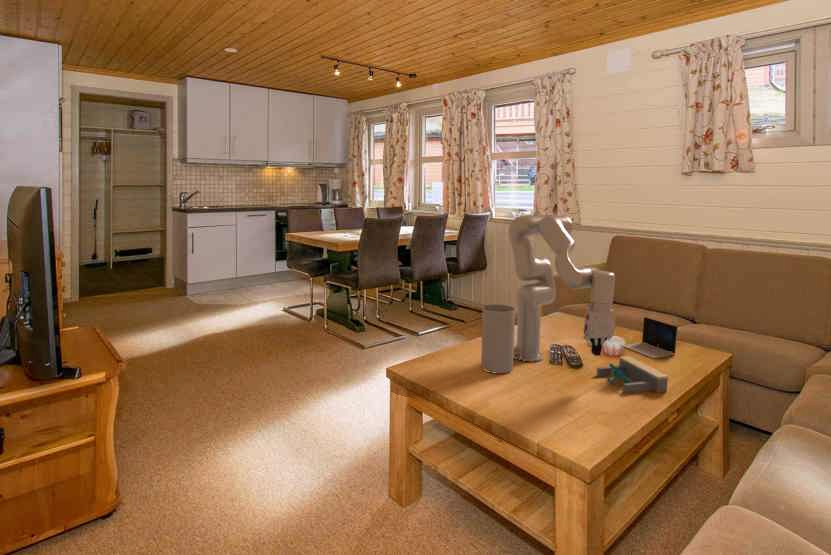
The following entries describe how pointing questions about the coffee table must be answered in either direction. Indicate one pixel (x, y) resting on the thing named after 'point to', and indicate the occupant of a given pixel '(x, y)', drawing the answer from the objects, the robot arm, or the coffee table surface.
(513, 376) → the coffee table surface
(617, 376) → the gear
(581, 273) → the robot arm
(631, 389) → the gear bay
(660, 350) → the laptop
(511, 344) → the cylinder vase
